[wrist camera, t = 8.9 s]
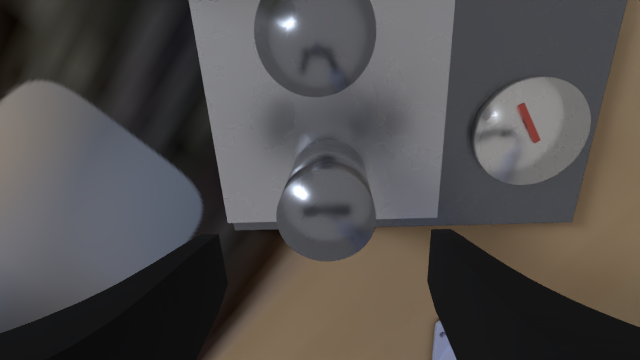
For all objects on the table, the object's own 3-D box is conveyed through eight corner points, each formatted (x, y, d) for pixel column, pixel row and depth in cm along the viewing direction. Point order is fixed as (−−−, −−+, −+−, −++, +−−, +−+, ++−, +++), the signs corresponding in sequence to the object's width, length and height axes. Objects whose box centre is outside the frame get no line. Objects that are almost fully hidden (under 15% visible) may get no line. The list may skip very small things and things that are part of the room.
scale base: (560, 214, 20) (581, 229, 18) (239, 222, 21) (231, 236, 20) (625, -60, 15) (661, -75, 13) (199, -28, 16) (183, -37, 15)
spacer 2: (364, 208, 18) (374, 261, 14) (293, 208, 19) (279, 260, 14) (367, 139, 17) (378, 172, 12) (290, 139, 17) (272, 172, 12)
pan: (433, 212, 19) (437, 217, 18) (231, 217, 20) (227, 222, 19) (452, -28, 15) (457, -32, 14) (193, -9, 15) (186, -12, 15)
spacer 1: (364, 82, 16) (376, 94, 11) (283, 86, 16) (261, 100, 12) (364, -12, 14) (376, -43, 10) (274, -5, 15) (246, -32, 10)
